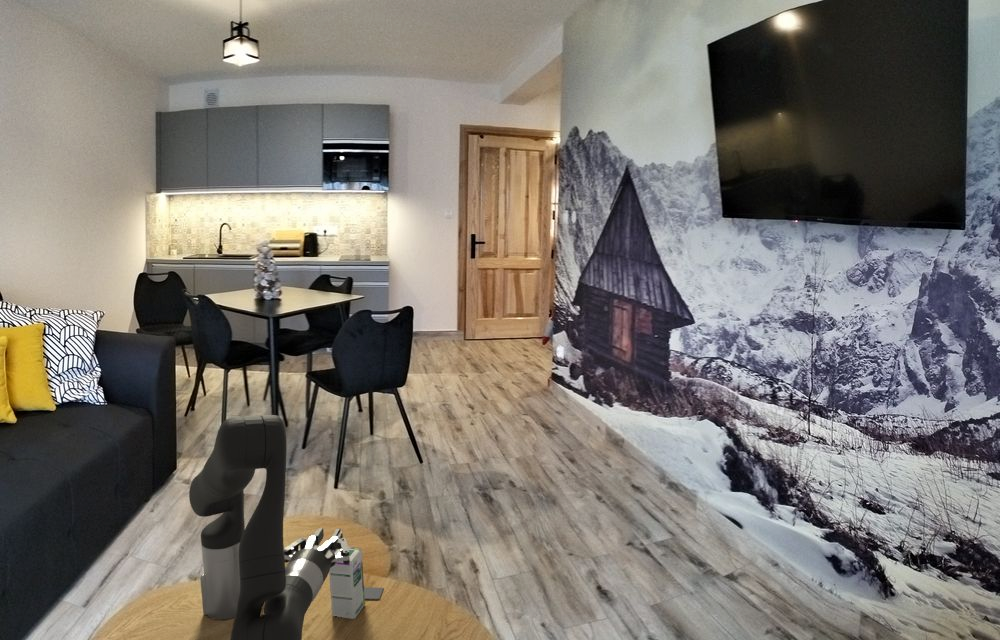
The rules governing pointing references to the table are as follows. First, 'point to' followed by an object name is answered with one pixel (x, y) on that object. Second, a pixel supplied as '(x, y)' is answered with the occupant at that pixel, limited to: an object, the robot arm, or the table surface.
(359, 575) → the syrup box
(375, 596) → the grey flat block
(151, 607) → the table surface
